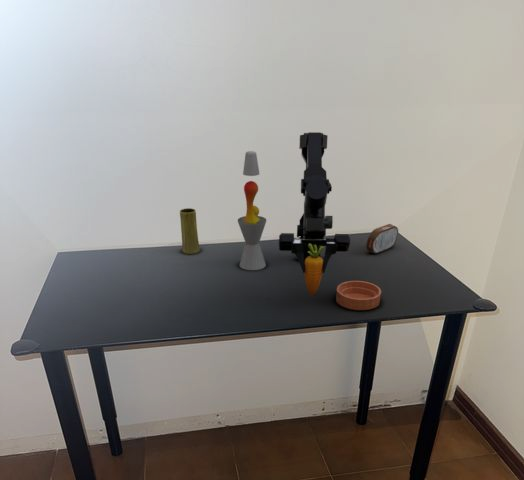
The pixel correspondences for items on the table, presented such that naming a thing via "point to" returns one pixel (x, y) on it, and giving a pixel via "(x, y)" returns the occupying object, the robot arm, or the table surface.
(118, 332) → the table surface
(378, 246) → the tin
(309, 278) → the carrot
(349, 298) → the bowl
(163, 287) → the table surface
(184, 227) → the vase
